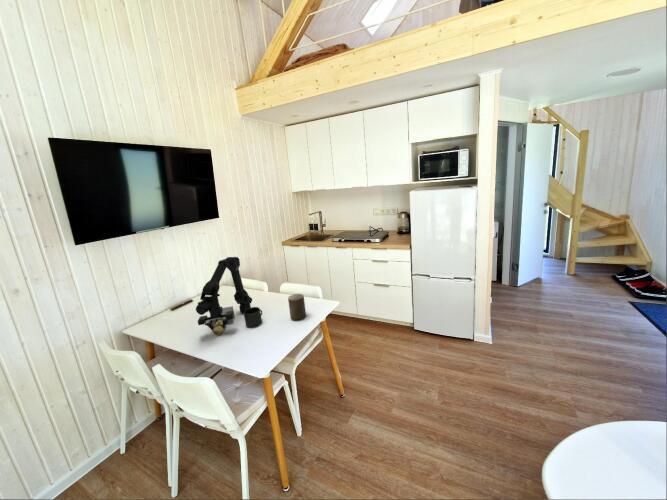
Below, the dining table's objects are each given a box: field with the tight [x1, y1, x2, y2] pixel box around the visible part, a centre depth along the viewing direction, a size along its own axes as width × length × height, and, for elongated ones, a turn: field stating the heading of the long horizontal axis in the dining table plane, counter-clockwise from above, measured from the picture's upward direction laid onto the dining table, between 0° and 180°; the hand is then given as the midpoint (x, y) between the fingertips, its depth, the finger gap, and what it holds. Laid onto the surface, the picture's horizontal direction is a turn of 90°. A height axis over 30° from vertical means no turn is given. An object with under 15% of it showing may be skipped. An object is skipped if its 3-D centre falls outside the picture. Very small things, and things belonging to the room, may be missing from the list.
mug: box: [243, 306, 263, 329], centre depth 165 cm, size 9×12×9 cm
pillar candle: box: [287, 293, 307, 322], centre depth 167 cm, size 10×10×15 cm
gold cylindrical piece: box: [212, 318, 225, 336], centre depth 161 cm, size 14×6×6 cm, turn 13°
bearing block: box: [209, 306, 236, 327], centre depth 170 cm, size 10×12×8 cm
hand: (219, 331), depth 156 cm, fingers closed on gold cylindrical piece, 5 cm apart
